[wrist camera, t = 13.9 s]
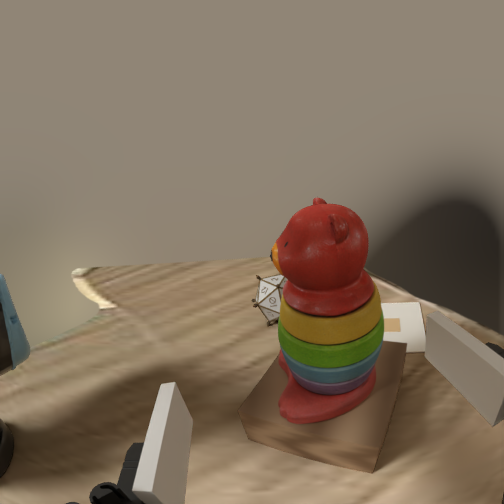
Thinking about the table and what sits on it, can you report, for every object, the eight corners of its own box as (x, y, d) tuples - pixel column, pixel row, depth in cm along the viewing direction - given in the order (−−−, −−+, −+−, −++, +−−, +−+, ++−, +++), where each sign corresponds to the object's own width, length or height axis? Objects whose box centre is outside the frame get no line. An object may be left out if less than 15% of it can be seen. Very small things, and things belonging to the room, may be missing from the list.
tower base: (249, 440, 29) (237, 410, 27) (301, 362, 40) (296, 328, 38) (372, 474, 22) (379, 447, 20) (401, 378, 33) (407, 343, 30)
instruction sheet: (314, 352, 41) (314, 350, 41) (326, 304, 51) (326, 303, 51) (427, 351, 35) (428, 350, 35) (419, 303, 45) (419, 301, 45)
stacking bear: (278, 349, 34) (252, 196, 27) (365, 337, 33) (365, 182, 26) (278, 427, 24) (240, 245, 17) (388, 411, 23) (414, 223, 16)
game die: (289, 328, 53) (308, 274, 53) (298, 341, 45) (321, 279, 45) (240, 312, 53) (260, 257, 53) (241, 324, 44) (264, 259, 44)
